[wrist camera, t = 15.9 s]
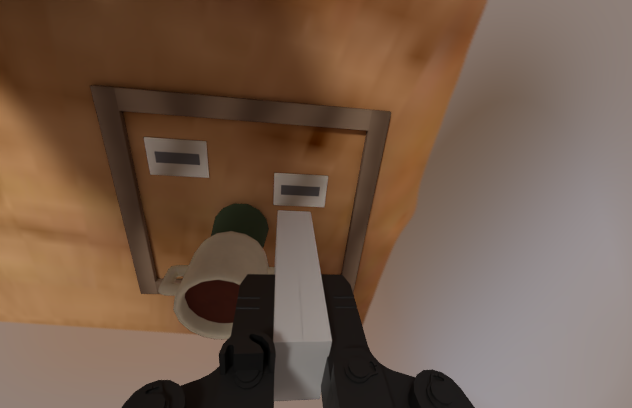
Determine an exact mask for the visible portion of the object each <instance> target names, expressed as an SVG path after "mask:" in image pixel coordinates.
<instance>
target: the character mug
mask: <svg viewBox="0 0 632 408" xmlns="http://www.w3.org/2000/svg"><path fill="white" fill-rule="evenodd" d="M268 230H269V228H268V224H267V220H266V218H265V217H264V216H263V214H262V213H261V212H260V211H259V210H258V209H256V208H254V207H252V206H250V205H248V204H232V205H230V206H227V207H225V208H223V209H222V210H221V211H220V212H219V213H218V215H217V216H216V217H215V221H214V225H213V230H212V234H211V237H209V238H208V239H206V240H205V241H204V242H203V243H202V244H201V245H200V247H199V248H198V249H197V251H196V252H195V253H194V255H193V258H192V260H191V262H190V264H189V265H175V266H171V267H170V268H169V269H168V271H167V273H166V275H165V277H164V278H163V280H162V282H161V284H160V286H159V291H158V292H159V293H160V294H162V295H174V296H175V301H174V309H173V310H174V312H175V314H176V316H177V318H178V320H179V322H180V323H182V324H183V325H184V326H185V327H186V328H187V329H189V330H190V331H191V332H194V333H196V334H198V335H200V336H203V337H207V338H211V339H221V340H222V339H229V337H230V336H231V332H232V326H233V321H234V315H235V310H236V304H237V299H238V293H239V287H240V284H241V282H242V281H243V280H244V278H245V277H246V276H247V274H272V275H274V270H275V267H269V265H268V261H267V256H266V253H265V251H264V250H263V247H264V243H265V240H266V237H267V233H268ZM178 276H184V277H183V279H182V281H181V283H174V281H175V279H176V278H177V277H178Z"/></svg>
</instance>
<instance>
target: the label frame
mask: <svg viewBox="0 0 632 408" xmlns="http://www.w3.org/2000/svg"><path fill="white" fill-rule="evenodd" d="M90 88H91V92H92V96H93V101H94V105H95V109H96V113H97V117H98V121H99V125H100V129H101V133H102V137H103V141H104V145H105V149H106V153H107V157H108V161H109V165H110V169H111V174H112V178H113V182H114V186H115V190H116V194H117V198H118V202H119V206H120V210H121V214H122V218H123V222H124V226H125V230H126V234H127V238H128V243H129V247H130V251H131V255H132V259H133V263H134V267H135V271H136V275H137V279H138V283H139V287H140V291H141V294H160V293H159V292H158V291H159V286H160V284H161V282H162V280H163V279H157V276H156V272H155V267H154V262H153V257H152V252H151V247H150V242H149V238H148V233H147V228H146V223H145V218H144V213H143V208H142V204H141V199H140V194H139V189H138V184H137V179H136V174H135V170H134V165H133V160H132V155H131V150H130V145H129V140H128V135H127V131H126V126H125V121H124V116H123V111H127V112H140V113H153V114H165V115H178V116H190V117H203V118H216V119H228V120H241V121H253V122H266V123H279V124H291V125H304V126H316V127H329V128H342V129H354V130H367V132H366V138H365V143H364V149H363V155H362V160H361V166H360V172H359V177H358V183H357V188H356V194H355V200H354V205H353V211H352V216H351V222H350V228H349V233H348V239H347V245H346V250H345V256H344V261H343V267H342V273H341V275H343V276H344V277H345V278H346V280H347V281H348V282H349V283H350V285H351V288H352V291H354V286H355V282H356V277H357V272H358V267H359V263H360V258H361V253H362V248H363V244H364V239H365V234H366V229H367V225H368V220H369V215H370V210H371V206H372V201H373V196H374V191H375V187H376V182H377V177H378V172H379V168H380V163H381V158H382V153H383V149H384V144H385V139H386V134H387V130H388V125H389V120H390V115H391V112H390V111H380V110H369V109H358V108H347V107H335V106H324V105H313V104H302V103H290V102H279V101H268V100H257V99H245V98H234V97H223V96H211V95H200V94H189V93H178V92H166V91H155V90H144V89H133V88H121V87H110V86H99V85H91V86H90ZM144 143H145V148H146V154H147V159H148V165H149V170H150V175H168V176H186V177H204V178H209V169H208V157H207V144H206V141H194V140H180V139H166V138H151V137H144ZM327 182H328V176H322V175H305V174H287V173H274V202H273V205H284V206H307V207H324V206H325V198H326V190H327ZM181 281H182V279H175V281H174V283H181Z"/></svg>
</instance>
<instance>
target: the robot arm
mask: <svg viewBox="0 0 632 408" xmlns="http://www.w3.org/2000/svg"><path fill="white" fill-rule="evenodd" d="M219 363H220V366H219V367H218V368H217V369H216V370H215V371H213V372H212V373H211V374H209V375H207V376H205V377H203V378H201V379H199V380H196V381H193V382H190V383H187V384H184V385H182V386H179V384H177V383H174V382H172V381H171V380H158V381H155V382H152V383H149V384H146V385H145V386H143V387H142V388H140V389H139V390H137V391H136V392H135V393H133V395H132V396H131V397H130V398H129V399H128V400H127V401H126V402H125V404H124V405H123V406H122V408H274V401H288V400H309V399H319V398H320V394H321V393H322V402H323V408H475V407H474V406H473V405H472V403H471V402H470V401H469V399H468V398H467V397H466V395H465V394H464V392H463V391H462V390H461V388H460V387H459V386H458V385H457V384H456V383H455V382H454V381H453V380H452V379H451V378H449V377H448V376H446V375H444V374H443V373H442V372H438V371H435V370H423V371H422V372H420V373H419V374H418V375H417V376H416V378H415V377H412V376H409V375H405V374H402V373H399V372H396V371H393V370H390V369H388V368H386V367H385V366H383V365H382V364H380V363H379V362H378V361H377V360H376V358H374V356H373V355H372V353H371V352H370V350H369V347H368V345H367V341H366V338H365V334H364V331H363V327H362V323H361V320H360V316H359V313H358V309H357V306H356V302H355V299H354V295H353V291H352V288H351V285H350V283H349V282H348V281H347V280H346V278H345V277H344V276H343V275H326V274H321V271H320V265H319V259H318V253H317V247H316V241H315V235H314V229H313V223H312V217H311V212H305V211H284V210H278V214H277V231H276V249H275V270H274V275H272V274H247V276H246V277H245V278H244V280H243V281H242V282H241V284H240V287H239V293H238V299H237V304H236V310H235V315H234V321H233V326H232V332H231V336H230V337H229V339H228V340H227V341H226V342H225V343H224V344H223V346H222V348H221V350H220V353H219Z"/></svg>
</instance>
